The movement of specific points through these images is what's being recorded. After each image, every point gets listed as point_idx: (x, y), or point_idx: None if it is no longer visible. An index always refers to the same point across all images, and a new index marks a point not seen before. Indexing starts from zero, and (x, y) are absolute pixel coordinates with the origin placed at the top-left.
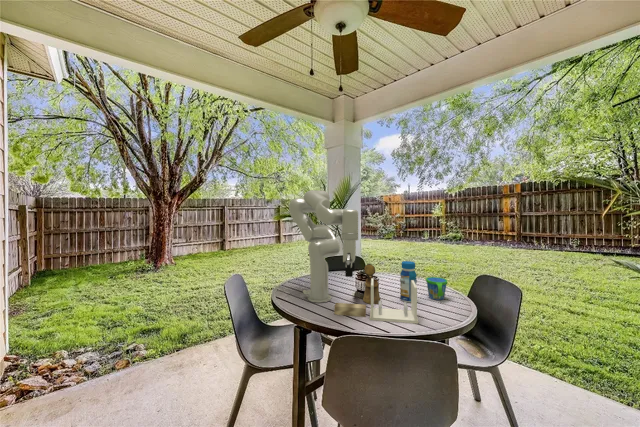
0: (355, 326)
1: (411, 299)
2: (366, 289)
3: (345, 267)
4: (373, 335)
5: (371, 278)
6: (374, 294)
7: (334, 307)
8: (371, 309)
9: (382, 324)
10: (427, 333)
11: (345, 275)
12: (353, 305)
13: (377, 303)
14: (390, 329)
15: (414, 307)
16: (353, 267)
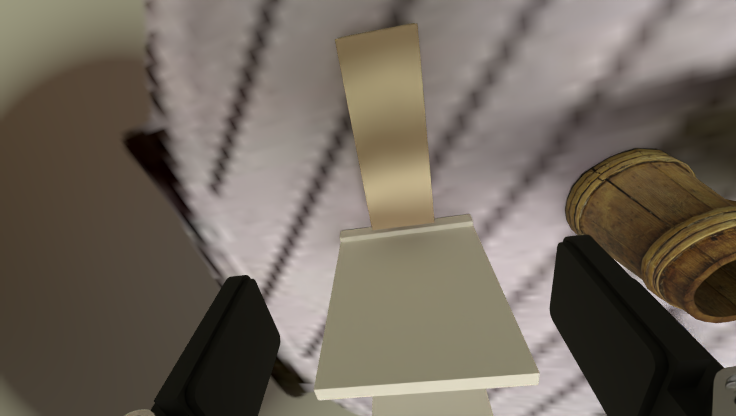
0: (245, 190)
1: (479, 404)
2: (655, 214)
3: (158, 402)
4: (208, 263)
5: (531, 373)
6: (606, 248)
7: (335, 40)
8: (336, 269)
9: (319, 277)
10: (313, 380)
11: (225, 283)
12: (399, 161)
13: (574, 231)
14: (288, 302)
15: (372, 413)
16: (582, 363)
